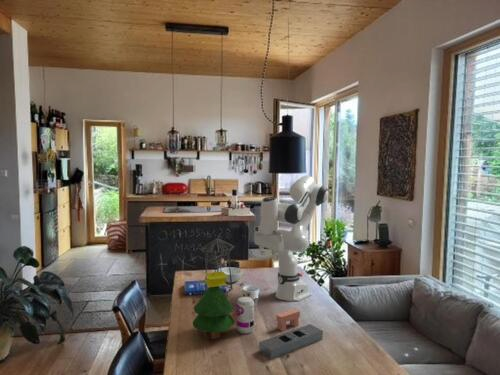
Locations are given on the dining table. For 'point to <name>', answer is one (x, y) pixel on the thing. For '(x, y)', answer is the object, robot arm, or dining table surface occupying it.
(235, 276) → the cereal bowl
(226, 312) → the decorative tree
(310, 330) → the rail
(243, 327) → the supplement can
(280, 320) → the pink notched block
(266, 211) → the robot arm
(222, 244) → the geometric lantern
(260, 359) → the dining table surface
